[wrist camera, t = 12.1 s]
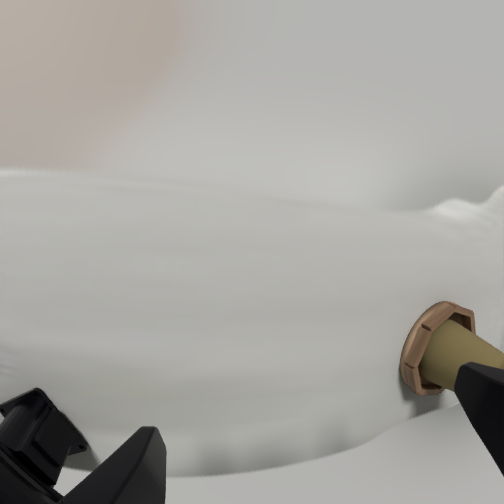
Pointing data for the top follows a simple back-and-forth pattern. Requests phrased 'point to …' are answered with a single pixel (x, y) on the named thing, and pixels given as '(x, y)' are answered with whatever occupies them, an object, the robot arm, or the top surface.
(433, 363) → the cork
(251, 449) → the top surface
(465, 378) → the robot arm
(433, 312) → the walnut stand
